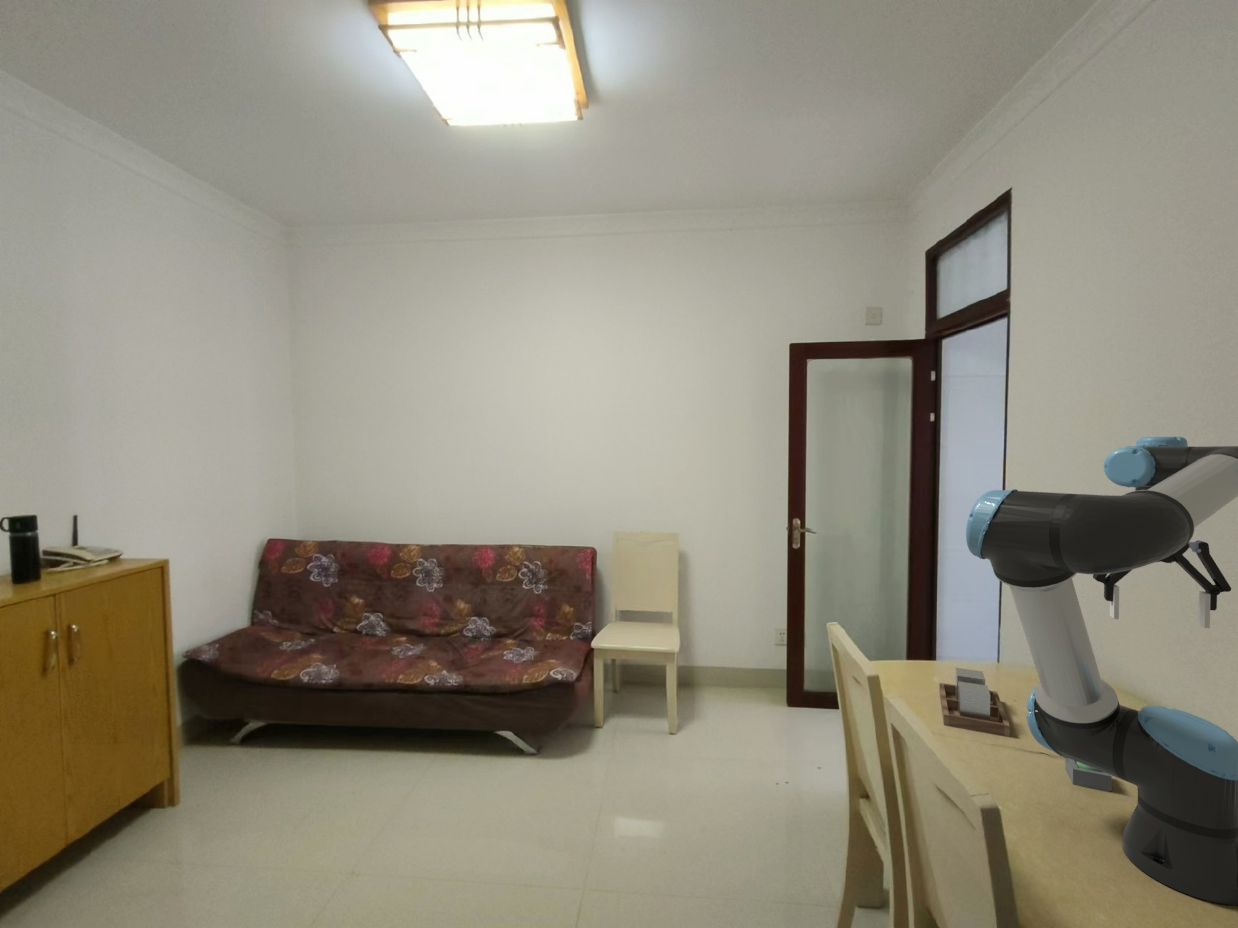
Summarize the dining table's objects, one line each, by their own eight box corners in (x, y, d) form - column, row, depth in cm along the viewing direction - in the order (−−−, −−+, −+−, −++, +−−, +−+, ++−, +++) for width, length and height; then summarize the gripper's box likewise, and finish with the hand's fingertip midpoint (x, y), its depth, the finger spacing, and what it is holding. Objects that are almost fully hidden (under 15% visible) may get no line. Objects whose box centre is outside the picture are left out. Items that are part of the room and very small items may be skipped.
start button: (1101, 782, 114) (1102, 764, 114) (1078, 777, 115) (1079, 759, 115) (1096, 772, 117) (1096, 755, 117) (1074, 768, 118) (1074, 751, 118)
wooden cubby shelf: (1009, 741, 132) (1009, 726, 131) (943, 729, 137) (943, 714, 137) (996, 704, 150) (996, 691, 150) (939, 695, 156) (939, 682, 156)
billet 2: (989, 729, 135) (990, 694, 135) (960, 723, 138) (960, 690, 138) (986, 718, 141) (987, 685, 140) (957, 713, 143) (958, 681, 143)
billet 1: (984, 711, 144) (985, 679, 144) (956, 706, 147) (957, 675, 147) (982, 702, 150) (982, 671, 149) (955, 697, 152) (955, 667, 152)
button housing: (1111, 791, 112) (1111, 776, 112) (1072, 783, 115) (1073, 768, 115) (1102, 776, 117) (1102, 761, 117) (1065, 768, 120) (1065, 754, 120)
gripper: (1236, 516, 113) (1234, 624, 113) (1076, 510, 124) (1074, 609, 124) (1257, 520, 106) (1254, 635, 107) (1086, 513, 117) (1084, 618, 118)
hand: (1157, 621), depth 115 cm, fingers open, 13 cm apart
